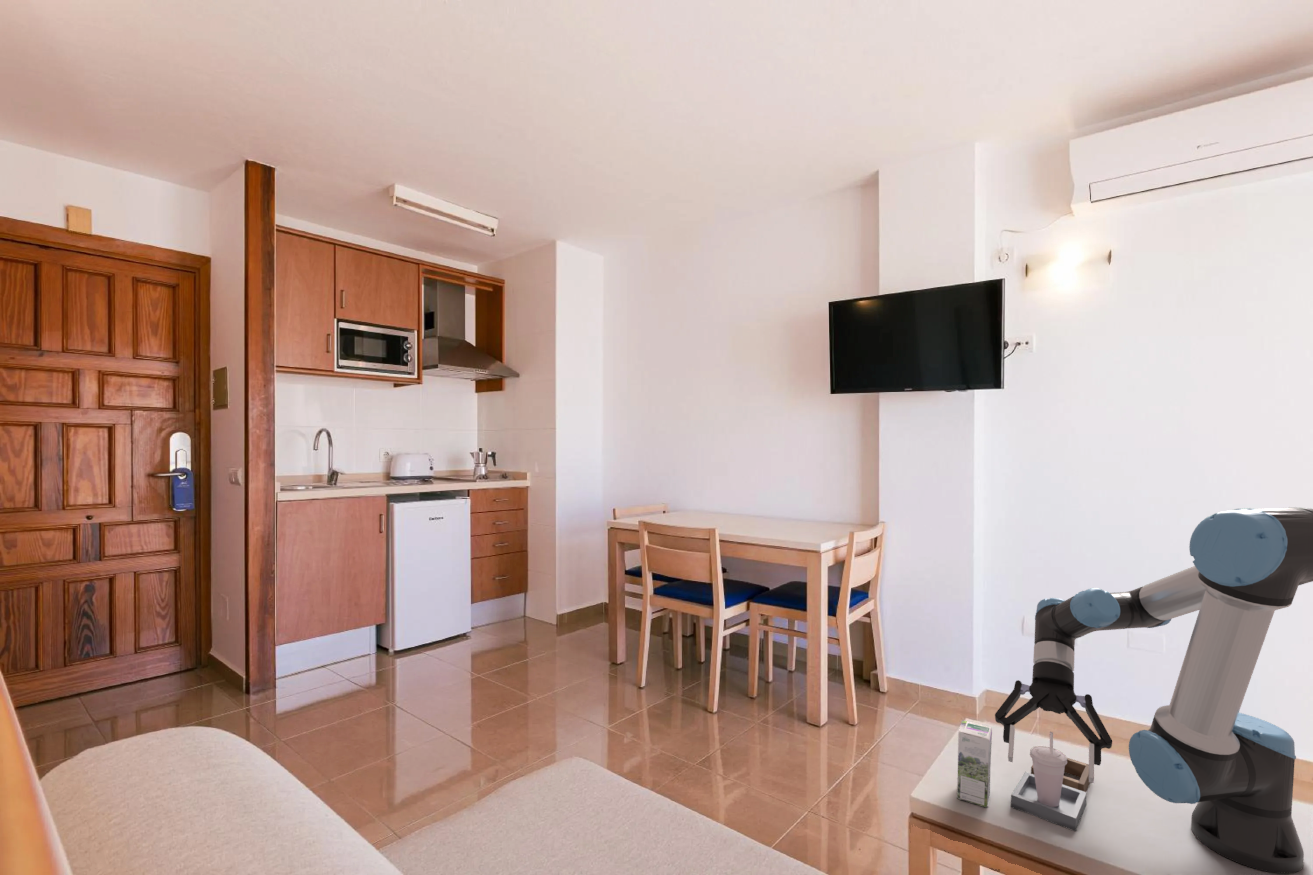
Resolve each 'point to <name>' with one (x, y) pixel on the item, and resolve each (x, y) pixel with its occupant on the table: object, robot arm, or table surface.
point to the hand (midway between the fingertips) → (1049, 769)
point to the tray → (1060, 815)
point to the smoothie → (1048, 772)
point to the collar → (1075, 774)
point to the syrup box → (974, 763)
